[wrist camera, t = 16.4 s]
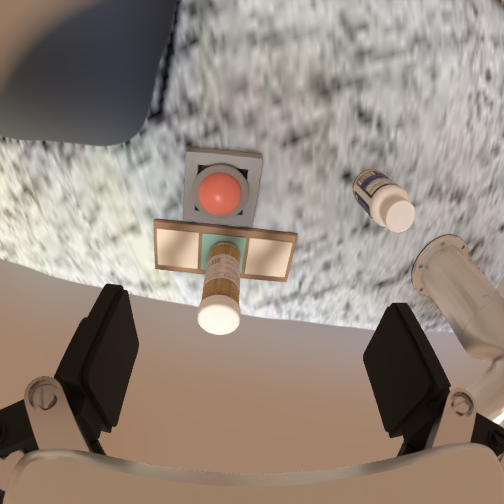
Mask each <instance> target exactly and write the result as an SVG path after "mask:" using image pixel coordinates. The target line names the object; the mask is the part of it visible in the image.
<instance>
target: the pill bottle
mask: <svg viewBox="0 0 504 504" xmlns="http://www.w3.org/2000/svg"><path fill="white" fill-rule="evenodd" d="M353 193H354V196H355V199H356V200H357V202H358V203H359V204H360V205H361V206H362V207H363V208H364V210H365V211H366V212H367V213H368V214H369V215H370V217H371V218H372V219H373V220H374V221H375V222H376V223H377V224H378V225H380V226H383V227H388V229H389V230H391V231H392V232H396V233H399V232H403V231H405V230H407V229H408V228H409V227H410V226H411V225H412V223H413V221H414V219H415V209H414V206H413V205H412V204H411V203H410V201H409V197H408V195H407V193H406V192H405V191H404V190H403V189H402V188H401V187H400V186H398V185H397V184H396V183H394V182H393V181H392V180H390V179H389V178H388V177H386V176H385V175H384V174H382V173H381V172H379V171H376V170H368V171H365V172H363V173H361V174H360V175H359V176H358V177H357V179H356V180H355V183H354V186H353Z"/></svg>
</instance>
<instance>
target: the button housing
mask: <svg viewBox="0 0 504 504" xmlns="http://www.w3.org/2000/svg"><path fill="white" fill-rule="evenodd" d="M262 161H263V158H262V154H255V153H247V152H238V151H229V150H218V149H207V148H195V147H190V148H189V149H188V150H187V151H186V163H185V180H184V202H183V220H187V221H198V222H208V223H218V224H228V225H237V226H247V227H253V221H254V215H255V208H256V201H257V195H258V188H259V181H260V175H261V168H262ZM216 164H224V165H229V166H232V167H234V168H238V169H247V177H246V181H247V183H248V187H249V197H248V201H247V203H246V205H245V207H244V208H243V210H242V211H241V212H239V213H238V214H237V215H235V216H233V217H231V218H227V219H214V218H211V217H208V216H206V215H204V214H203V213H202V212H201V211H199V210H198V208H197V207H196V205H195V204H194V202H193V198H192V186H193V183H194V180H195V178H196V177H197V175H198V174H199V173H200V165H208V166H211V165H216Z"/></svg>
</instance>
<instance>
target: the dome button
mask: <svg viewBox="0 0 504 504" xmlns="http://www.w3.org/2000/svg"><path fill="white" fill-rule="evenodd" d="M248 197H249V187H248V183H247V181H246V179H245V177H244V176H243V174H242V173H241V172H240V171H239V170H237V169H236V168H234V167H232V166H229V165H224V164H216V165H211V166H209V167H207V168H205V169H203V170H202V171H201V172H200V173H199V174H198V175H197V177H196V178H195V180H194V183H193V186H192V198H193V202H194V204H195V205H196V207H197V208H198V210H199V211H201V212H202V213H203V214H204V215H206V216H208V217H211V218H214V219H227V218H231V217H233V216H235V215H237V214H238V213H239V212H241V211H242V210H243V208H244V207H245V205H246V203H247V201H248Z"/></svg>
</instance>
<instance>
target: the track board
mask: <svg viewBox="0 0 504 504" xmlns="http://www.w3.org/2000/svg"><path fill="white" fill-rule="evenodd" d="M153 222H154V251H155V269H160V270H169V271H178V272H187V273H196V274H205V273H206V268H207V264H208V261H209V252H210V249H211V248H212V247H213V246H214V245H215V244H217V243H220V242H229V243H232V244H234V245H235V246H236V247H237V248H238V249H239V251H240V278H246V279H257V280H268V281H279V282H287V278H288V274H289V269H290V265H291V261H292V257H293V253H294V249H295V244H296V240H297V233H288V232H280V231H271V230H262V229H253V228H243V227H234V226H224V225H214V224H204V223H194V222H184V221H173V220H162V219H155V220H154V221H153Z"/></svg>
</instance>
